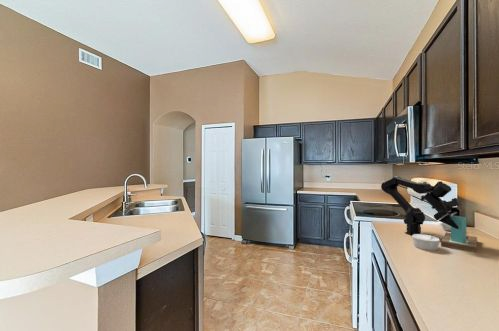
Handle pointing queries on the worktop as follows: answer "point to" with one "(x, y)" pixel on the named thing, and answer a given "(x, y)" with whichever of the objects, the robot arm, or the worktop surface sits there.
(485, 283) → the worktop surface
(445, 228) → the die
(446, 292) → the worktop surface
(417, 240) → the ramekin
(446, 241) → the puzzle board
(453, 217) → the teal block
